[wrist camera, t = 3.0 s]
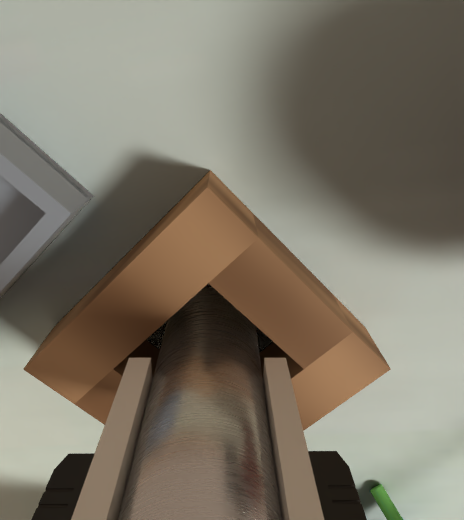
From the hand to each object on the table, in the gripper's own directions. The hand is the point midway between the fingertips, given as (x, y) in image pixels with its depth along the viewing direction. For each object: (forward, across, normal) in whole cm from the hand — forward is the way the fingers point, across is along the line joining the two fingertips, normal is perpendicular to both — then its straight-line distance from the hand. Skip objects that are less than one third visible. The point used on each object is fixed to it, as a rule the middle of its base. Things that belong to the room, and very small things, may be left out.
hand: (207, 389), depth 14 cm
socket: (+4, 0, 0) cm, 4 cm away
